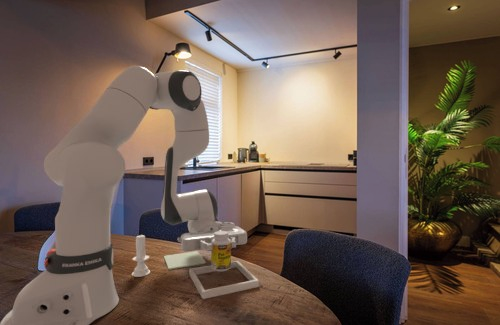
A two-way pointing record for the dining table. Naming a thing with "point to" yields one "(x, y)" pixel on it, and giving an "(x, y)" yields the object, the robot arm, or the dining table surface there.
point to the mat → (183, 260)
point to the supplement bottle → (221, 251)
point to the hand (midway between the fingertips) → (222, 246)
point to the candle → (140, 258)
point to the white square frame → (223, 290)
